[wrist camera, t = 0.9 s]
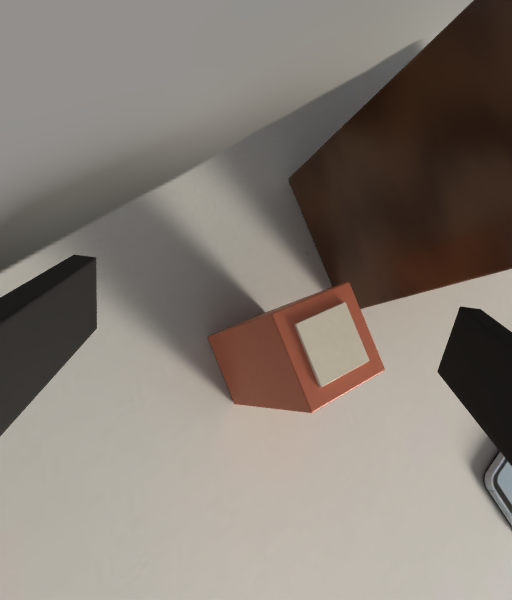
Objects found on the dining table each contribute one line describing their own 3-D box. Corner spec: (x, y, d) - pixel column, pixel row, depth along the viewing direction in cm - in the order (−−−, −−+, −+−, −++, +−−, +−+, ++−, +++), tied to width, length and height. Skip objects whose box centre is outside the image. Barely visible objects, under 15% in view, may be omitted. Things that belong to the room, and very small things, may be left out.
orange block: (207, 336, 27) (272, 312, 18) (266, 312, 30) (351, 279, 21) (234, 404, 27) (314, 414, 18) (291, 374, 30) (388, 369, 20)
